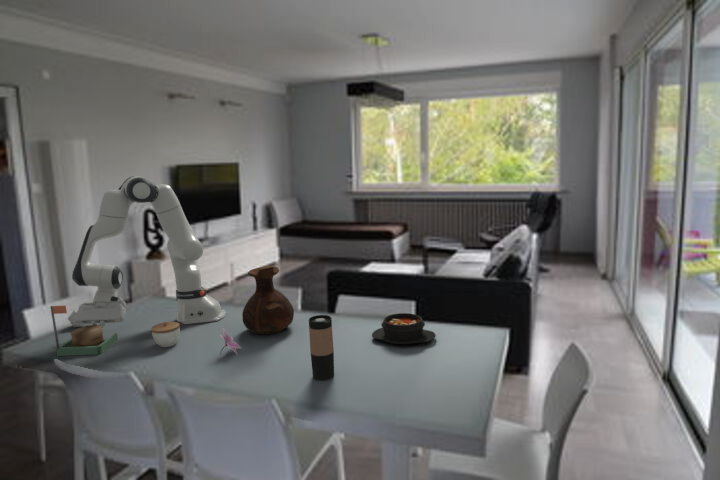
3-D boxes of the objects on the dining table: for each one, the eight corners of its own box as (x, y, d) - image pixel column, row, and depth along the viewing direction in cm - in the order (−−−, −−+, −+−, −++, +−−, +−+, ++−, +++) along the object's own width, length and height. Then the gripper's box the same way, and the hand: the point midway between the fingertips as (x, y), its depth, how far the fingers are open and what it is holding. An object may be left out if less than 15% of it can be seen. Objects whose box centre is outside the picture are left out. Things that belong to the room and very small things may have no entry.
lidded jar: (187, 341, 206) (184, 319, 204) (167, 351, 197) (164, 328, 195) (167, 338, 211) (165, 316, 209) (147, 347, 201) (144, 325, 199)
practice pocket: (118, 340, 211) (111, 294, 207) (100, 354, 197) (93, 304, 193) (78, 341, 211) (71, 295, 208) (57, 355, 197) (49, 306, 193)
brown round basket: (109, 341, 210) (106, 324, 208) (95, 352, 199) (93, 334, 198) (82, 342, 210) (80, 325, 208) (67, 353, 199) (65, 335, 198)
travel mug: (312, 371, 172) (308, 315, 168) (334, 370, 172) (331, 314, 169) (312, 381, 164) (308, 323, 161) (335, 380, 165) (332, 321, 161)
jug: (232, 336, 209) (226, 266, 204) (261, 319, 229) (256, 255, 224) (277, 341, 201) (272, 268, 196) (303, 323, 221) (299, 256, 215)
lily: (225, 363, 184) (236, 342, 184) (203, 349, 188) (214, 328, 188) (241, 360, 195) (251, 340, 195) (220, 347, 198) (230, 327, 198)
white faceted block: (76, 331, 226) (88, 312, 228) (60, 322, 227) (73, 303, 228) (86, 332, 234) (98, 313, 236) (71, 322, 235) (82, 304, 237)
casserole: (439, 333, 202) (438, 313, 201) (431, 351, 185) (430, 329, 183) (379, 329, 210) (378, 309, 208) (366, 346, 192) (365, 325, 191)
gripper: (76, 299, 215) (66, 329, 207) (124, 297, 215) (116, 327, 207) (84, 306, 220) (74, 335, 212) (130, 304, 220) (122, 334, 212)
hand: (95, 331), depth 210 cm, fingers closed, pressing on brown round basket
